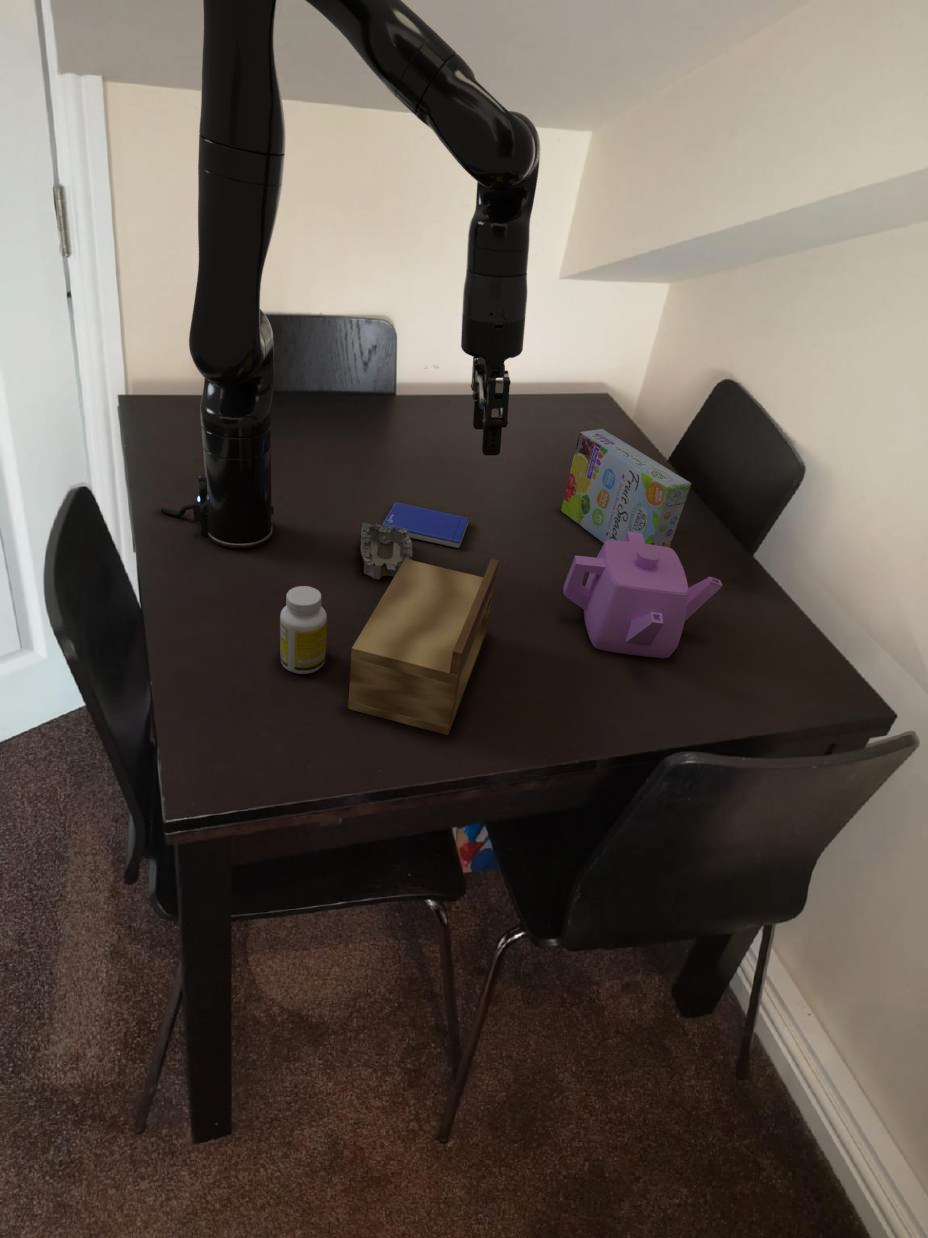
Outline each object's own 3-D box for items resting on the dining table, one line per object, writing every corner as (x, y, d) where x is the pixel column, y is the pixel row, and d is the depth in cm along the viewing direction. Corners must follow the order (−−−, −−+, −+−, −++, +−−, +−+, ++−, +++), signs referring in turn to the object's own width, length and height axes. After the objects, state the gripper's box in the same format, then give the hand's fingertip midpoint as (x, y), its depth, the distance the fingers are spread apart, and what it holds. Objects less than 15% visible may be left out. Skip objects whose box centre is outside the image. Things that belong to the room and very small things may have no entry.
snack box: (665, 567, 127) (694, 482, 119) (640, 574, 125) (667, 487, 116) (582, 506, 141) (602, 425, 132) (558, 511, 138) (576, 429, 129)
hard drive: (382, 524, 124) (459, 540, 123) (395, 500, 130) (469, 516, 129) (381, 532, 124) (458, 549, 123) (394, 509, 131) (468, 525, 130)
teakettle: (615, 580, 122) (635, 509, 115) (708, 636, 113) (737, 563, 106) (542, 616, 112) (560, 541, 104) (639, 682, 103) (666, 604, 95)
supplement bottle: (333, 657, 99) (336, 592, 93) (308, 681, 94) (310, 614, 89) (297, 642, 100) (298, 577, 94) (271, 665, 96) (270, 598, 90)
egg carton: (411, 582, 114) (414, 558, 112) (359, 579, 113) (360, 555, 111) (409, 543, 123) (411, 520, 120) (360, 540, 122) (361, 517, 119)
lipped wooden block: (347, 709, 91) (353, 625, 84) (399, 614, 108) (407, 538, 101) (448, 735, 90) (461, 653, 83) (485, 636, 106) (499, 560, 99)
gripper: (455, 296, 99) (451, 420, 109) (470, 327, 88) (464, 464, 97) (514, 297, 100) (505, 420, 110) (537, 328, 89) (524, 463, 98)
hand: (485, 440), depth 103 cm, fingers open, 8 cm apart
